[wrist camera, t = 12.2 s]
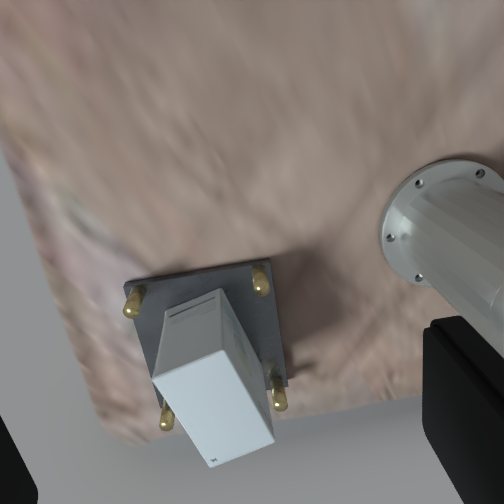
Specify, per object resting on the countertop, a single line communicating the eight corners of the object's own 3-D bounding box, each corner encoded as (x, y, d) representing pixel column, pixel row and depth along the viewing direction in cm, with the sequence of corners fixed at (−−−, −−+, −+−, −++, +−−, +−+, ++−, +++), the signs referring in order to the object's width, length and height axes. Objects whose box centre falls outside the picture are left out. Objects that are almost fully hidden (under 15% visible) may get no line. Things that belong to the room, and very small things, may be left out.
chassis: (268, 258, 41) (274, 279, 37) (287, 380, 47) (293, 410, 43) (125, 282, 41) (115, 306, 37) (161, 401, 47) (156, 433, 43)
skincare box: (265, 364, 45) (278, 445, 35) (209, 386, 46) (207, 471, 36) (224, 284, 41) (226, 350, 31) (163, 309, 42) (147, 382, 32)
